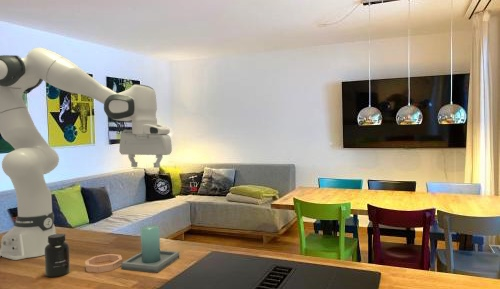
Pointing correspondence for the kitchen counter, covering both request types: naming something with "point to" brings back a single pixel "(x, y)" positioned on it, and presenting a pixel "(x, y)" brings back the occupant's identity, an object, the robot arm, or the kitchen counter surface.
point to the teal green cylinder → (150, 243)
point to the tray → (138, 265)
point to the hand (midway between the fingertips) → (145, 167)
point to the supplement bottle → (57, 256)
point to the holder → (105, 267)
